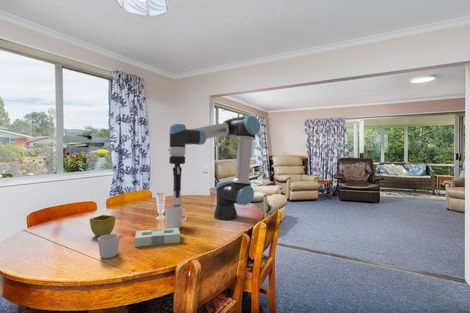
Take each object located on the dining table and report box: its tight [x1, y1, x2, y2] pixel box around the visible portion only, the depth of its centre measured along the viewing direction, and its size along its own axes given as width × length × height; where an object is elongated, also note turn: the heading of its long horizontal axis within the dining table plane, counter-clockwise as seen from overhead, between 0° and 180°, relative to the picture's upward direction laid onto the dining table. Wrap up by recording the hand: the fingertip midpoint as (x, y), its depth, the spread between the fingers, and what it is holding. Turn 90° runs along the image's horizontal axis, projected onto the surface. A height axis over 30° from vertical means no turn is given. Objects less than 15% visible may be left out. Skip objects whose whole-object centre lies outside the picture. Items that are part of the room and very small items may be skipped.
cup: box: [97, 233, 120, 259], centre depth 106 cm, size 11×8×8 cm
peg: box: [172, 181, 182, 207], centre depth 125 cm, size 3×3×12 cm
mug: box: [164, 206, 188, 229], centre depth 143 cm, size 12×9×11 cm
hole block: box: [134, 228, 181, 248], centre depth 122 cm, size 20×10×4 cm, turn 107°
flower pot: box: [89, 214, 116, 237], centre depth 130 cm, size 9×9×9 cm
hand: (176, 203), depth 125 cm, fingers closed on peg, 3 cm apart
